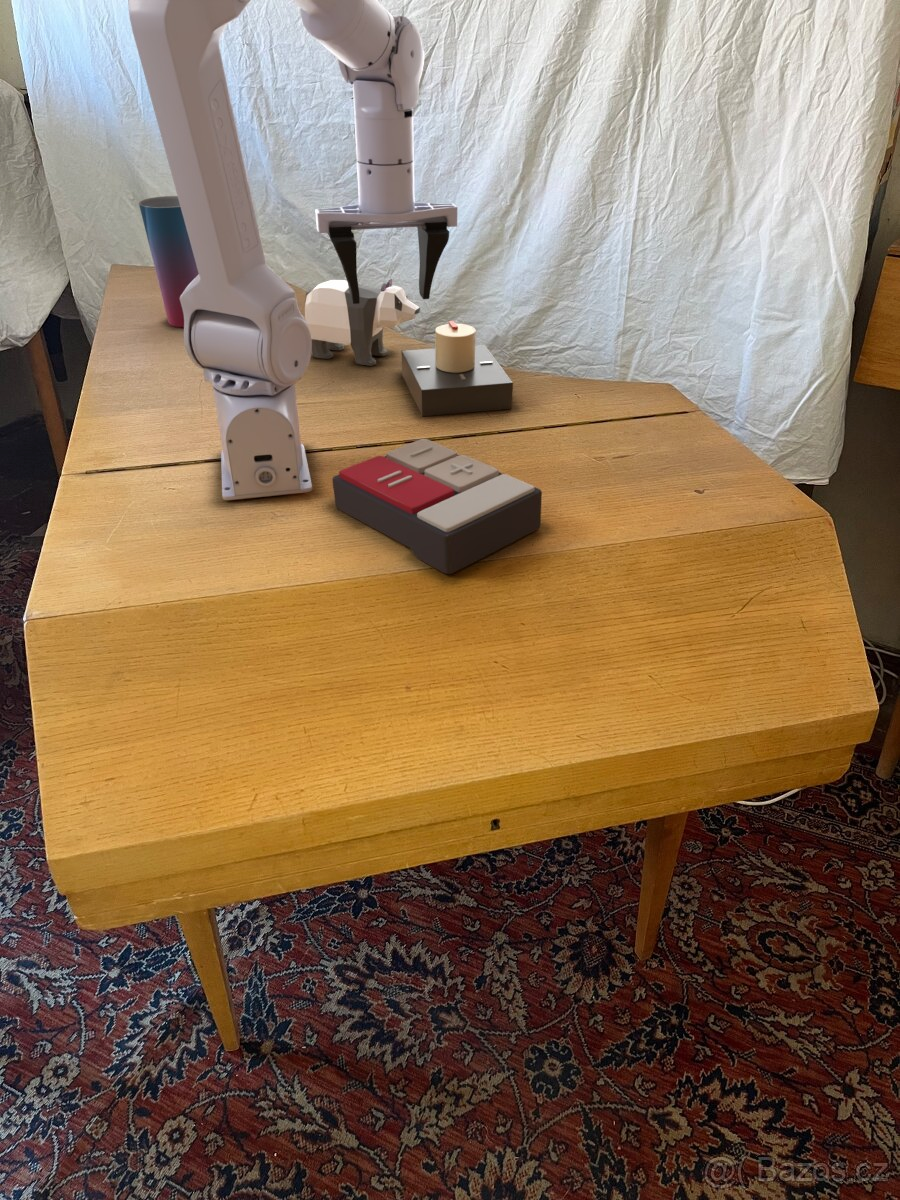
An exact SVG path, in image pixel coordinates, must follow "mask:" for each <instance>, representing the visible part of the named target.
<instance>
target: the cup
mask: <svg viewBox="0 0 900 1200" xmlns="http://www.w3.org/2000/svg"><path fill="white" fill-rule="evenodd" d="M138 207H139V208H140V209H139V211H140V214H141V218H142V222H143V226H144V230H145V233H146V239H147V242H148V246H149V249H150V255H151V258H152V263H153V266H154V270H155V274H156V278H157V282H158V287H159V290H160V293H161V294H160V295H161V298H162V302H163V307H164V310H165V314H166V318H167V323H168V324H169V325H170V326H172V327H177V328H184V314H183V309H182V305H181V302H180V296H181V295H182V293H183V292H184V290H185V289H186V287H187V286H188V285H189V284H190V283H191V282H192V281H193V280H194V279H195V278H196V277H197V276H198V275H199V272H198V269H197V265H196V261H195V258H194V254H193V250H192V247H191V243H190V239H189V236H188V232H187V228H186V225H185V221H184V218H183V214H182V210H181V207H180V203H179V199H178V196H177V195H167V196H166V195H165V196H164V195H163V196H155V197H149V198H145V199H142V200H140V201H139V202H138Z"/></svg>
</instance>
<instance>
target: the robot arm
mask: <svg viewBox="0 0 900 1200" xmlns="http://www.w3.org/2000/svg"><path fill="white" fill-rule="evenodd" d="M251 1H252V0H128V1H127V2H128V3H127V4H128V15H129V21H130V26H131V30H132V34H133V38H134V42H135V46H136V49H137V53H138V56H139V60H140V64H141V68H142V71H143V75H144V78H145V81H146V86H147V90H148V93H149V97H150V100H151V105H152V107H153V111H154V116H155V119H156V122H157V126H158V129H159V133H160V137H161V140H162V145H163V148H164V151H165V155H166V159H167V162H168V166H169V169H170V173H171V177H172V181H173V184H174V188H175V192H176V196H178V199H179V203H180V207H181V210H182V214H183V218H184V221H185V225H186V228H187V232H188V236H189V239H190V243H191V247H192V250H193V254H194V258H195V261H196V265H197V269H198V272H199V275H198V276H197V277H196V278H195V279H194V280H193V281H192V282H191V283H190V284H189V285H188V286H187V287H186V289H185V290H184V292H183V293H182V295H181V296H180V302H181V305H182V309H183V314H184V327H183V342H184V347H185V350H186V354H187V355H188V358H189V359H190V361H191V362H192V363H193V364H194V365H195V366H196V367H198V368H199V369H202V372H203V377H204V381H205V382H208V383H210V384H211V386H212V392H213V399H214V405H215V410H216V416H217V424H218V429H219V436H220V443H221V449H222V451H220V466H221V468H220V469H221V470H220V471H221V497H222V500H224V501H234V500H235V501H236V500H244V499H245V500H246V499H255V498H263V497H265V498H266V497H272V496H273V497H275V496H285V495H294V494H306V493H310V492H312V491H313V484H312V479H311V474H310V469H309V464H308V459H307V454H306V448H305V445H304V444H303V443H302V439H301V431H300V421H299V412H298V401H297V391H296V384H297V382H299V381H300V380H301V379H302V377H303V376H304V374H305V372H306V371H307V369H308V366H309V364H310V361H311V357H312V339H311V334H310V330H309V327H308V324H307V322H306V320H305V316H303V314H302V313H301V310H300V308H299V304H298V300H297V296H296V295H297V294H296V292H295V290H294V289H293V288H292V287H291V286H290V285H289V284H288V283H287V282H286V281H285V280H283V278H282V277H280V276H279V275H278V274H277V273H276V272H275V271H274V270H273V269H272V268H271V267H270V266H269V265H268V264H267V261H266V257H265V252H264V247H263V243H262V239H261V235H260V230H259V224H258V220H257V215H256V211H255V206H254V202H253V197H252V193H251V192H252V191H251V188H250V184H249V179H248V173H247V170H246V169H247V168H246V165H245V160H244V156H243V151H242V146H241V142H240V136H239V132H238V128H237V124H236V123H237V122H236V118H235V114H234V109H233V104H232V100H231V95H230V91H229V86H228V82H227V81H228V80H227V77H226V72H225V67H224V64H223V59H222V54H221V49H220V42H221V38H222V36H223V35H224V32H225V30H226V27H227V25H228V23H230V22H232V21H234V20H235V19H238V18H239V17H240V15H241V14H242V13H243V11H244V10H245V9H246V7H247V6H248V5H249V3H250V2H251ZM290 1H291V2H293V3H294V4H295V5H296V6H298V7H299V8H300V17H301V21H302V24H303V27H304V28H305V30H306V32H307V33H308V34H309V35H310V36H311V37H312V38H313V39H315V40H316V41H317V42H318V43H319V44H321V45H322V46H323V47H324V48H325V49H326V50H327V51H329V52H330V53H331V54H332V55H333V58H335V59H336V61H337V63H338V66H339V70H340V73H341V76H342V78H343V80H344V82H345V83H346V84H348V85H349V84H350V85H352V95H353V114H354V129H355V130H354V132H355V152H356V153H355V154H356V172H357V174H356V175H357V192H358V194H357V195H358V204H351V205H342V206H336V207H327V208H315V210H314V211H315V224H316V230H317V232H318V234H327V235H328V238H329V239H330V242H331V243H332V245H333V248H334V250H335V252H336V255H337V256H338V259H339V261H340V263H341V266H342V270H343V272H344V275H345V278H346V281H347V282H348V286H349V291H350V298H351V301H352V303H353V304H359V288H358V284H359V280H358V272H357V271H358V267H357V245H358V244H357V241H356V239H355V234H354V232H353V231H357V230H359V231H360V230H379V229H400V228H401V229H402V228H416V229H417V238H418V239H417V241H418V255H419V270H418V276H419V277H418V294H419V295H420V297H421V298H422V300H429V299H430V295H431V288H432V284H433V280H434V276H435V273H436V270H437V267H438V264H439V261H440V260H441V257H442V255H443V253H444V250H445V248H446V247H447V245H448V242H449V239H450V231H449V230H448V228H455V227H456V228H457V227H458V206H457V205H455V204H454V203H453V202H447V203H446V202H445V203H444V202H442V203H439V202H416V200H415V141H414V140H415V138H414V135H415V134H414V109H415V108H417V107H418V103H419V98H420V95H419V94H420V93H419V92H420V82H421V78H422V75H423V72H424V71H423V70H424V66H425V50H424V46H423V40H422V39H423V38H422V35H421V32H420V31H419V28H418V26H416V24H414V23H412V21H411V20H410V19H409V18H408V17H406V16H403V15H392V14H391V12H390V11H389V10H388V9H387V8H386V7H385V6H384V3H383V2H382V0H290Z"/></svg>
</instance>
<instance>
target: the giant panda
mask: <svg viewBox="0 0 900 1200" xmlns="http://www.w3.org/2000/svg"><path fill="white" fill-rule="evenodd" d="M358 288H359V304H353V303H352V301H351V298H350V291H349V286H348V282H347V280H343V279H330V280H328V281H324V282H321V283H319V284H317V285H316V287H313V288H308V289H307V291H306V292H305V300H304V303H305V304H304V319H305V320H306V322H307V324H308V327H309V330H310V334H311V339H312V352H311V355H312V357H314V358H317V359H325V360H329V359H332V358H333V357H334V354H333V352H332V351H342V350H344V349H345V346H344V345H349V346H350V347H351V349H352V352H353V354H354V355H353V356H354V361H355V364H357V365H362V366H369V367H372V366H375V365H376V363H377V360H376V358H374V357H373V356H377V357H385V356H388V349H386V348H385V347H384V341H383V339H384V328H395V327H398V326H399V325H401V324H402V323H406V322H409V321H411V320H414V319H415V318H416V317H417V315H418V314H420V312H421V307H420V306H418V305H417V304H415V303H413V302H412V301H411V300H409V299H408V298H409V297H408V295H406V293H405V290H404V288H403V287H400V286H398V285H393V279H392V278H390V279H388V280H387V282H384V283H382V284H381V287H380V289H379V288H374V287H369V286H366V285H362V284H359V283H358ZM330 350H332V351H330Z"/></svg>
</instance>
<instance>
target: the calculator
mask: <svg viewBox="0 0 900 1200" xmlns="http://www.w3.org/2000/svg"><path fill="white" fill-rule="evenodd" d="M332 489H333V495H334V497H333V498H334V505H335V508H336V509H338V510H339V511H341V512H343V513H345V514H347V515H349V516H350V517H352V518H354V519H356V520H357V521H360V522H362V523H363V524H364V525H367V526H369V527H370V528H372V529H374V530H376V531H378V532H380V533H382V534H383V535H385V536H386V537H388V538H391V539H393V540H394V541H396V542H398V543H399V544H402V545H403V546H405V547H407V548H409V549H410V550H411V552H412V553H413V554H414V556H415V557H416V559H418V560H419V561H421V562H423V563H425V564H427V565H428V566H431V567H433V568H434V569H435V570H437V571H440V572H441V573H443V574H445V575H452V574H454V573H455V572H458V571H460V570H462V569H464V568H466V567H468V566H469V565H471V564H473V563H475V562H477V561H479V560H481V559H484V558H485V557H487V556H489V555H491V554H493V553H495V552H496V551H499V550H500V549H503V548H505V547H506V546H509V545H510V544H512V543H514V542H516V541H518V540H520V539H522V538H524V537H526V536H527V535H529V534H531V533H533V532H535V531H537V530H539V529H540V528H541V523H542V522H541V520H542V519H541V518H542V494H543V493H542V489H540V488H538V487H536V486H534V485H533V484H530V483H528V482H526V481H523V480H521V479H520V478H519V479H518V478H516V477H514V476H512V475H510V474H506V473H502V472H500V470H499V468H496V467H495V466H492V465H490V464H488V463H485V462H483V461H480V460H478V459H475V458H473V457H470V456H469V455H466V454H458V451H456V450H454V449H451V448H448V447H446V446H444V445H442V444H440V443H437V442H434V441H432V440H430V439H427V438H420V439H418V440H415V441H413V442H410V443H407V444H405V445H402V446H400V447H397V448H395V449H392V450H389V451H387V452H386V453H385V456H382V455H377V456H374V457H371V458H369V459H366V460H364V461H360V462H358V463H356V464H353V465H351V466H349V467H346V468H343V469H340V470H339V471H338V474H337V475H334V476H332Z"/></svg>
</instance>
